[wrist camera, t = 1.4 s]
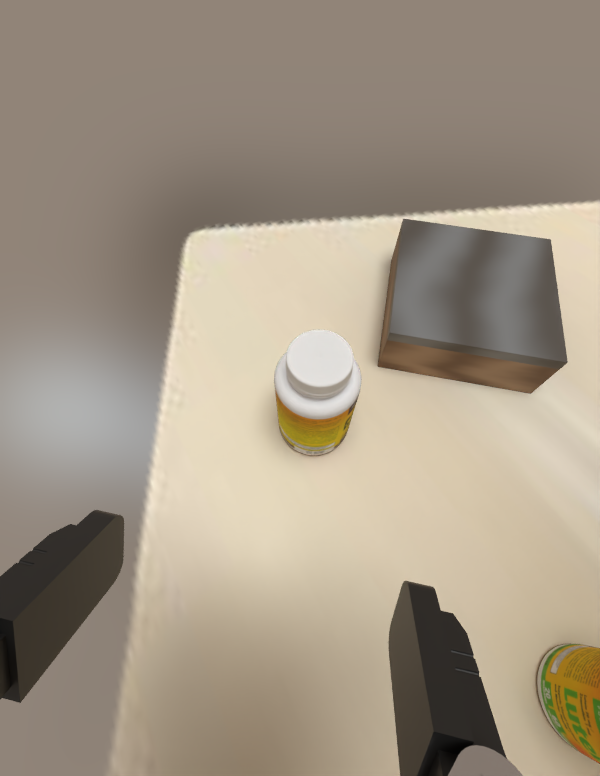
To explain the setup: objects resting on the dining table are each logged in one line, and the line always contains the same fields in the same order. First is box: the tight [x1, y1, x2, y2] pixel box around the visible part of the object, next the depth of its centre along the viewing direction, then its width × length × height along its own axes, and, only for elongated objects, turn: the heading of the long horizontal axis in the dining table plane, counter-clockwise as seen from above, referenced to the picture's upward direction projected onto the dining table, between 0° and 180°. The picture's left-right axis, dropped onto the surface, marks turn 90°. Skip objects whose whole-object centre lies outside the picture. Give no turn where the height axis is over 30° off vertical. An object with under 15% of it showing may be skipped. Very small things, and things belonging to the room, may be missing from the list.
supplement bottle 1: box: [274, 329, 361, 455], centre depth 27 cm, size 6×6×10 cm
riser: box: [378, 219, 567, 393], centre depth 34 cm, size 13×13×5 cm
